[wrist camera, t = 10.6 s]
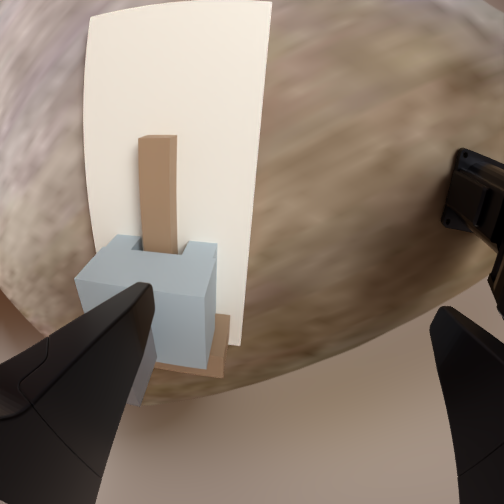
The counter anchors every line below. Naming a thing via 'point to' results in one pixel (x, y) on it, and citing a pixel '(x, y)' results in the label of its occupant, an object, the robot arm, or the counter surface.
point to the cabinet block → (159, 299)
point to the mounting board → (179, 137)
